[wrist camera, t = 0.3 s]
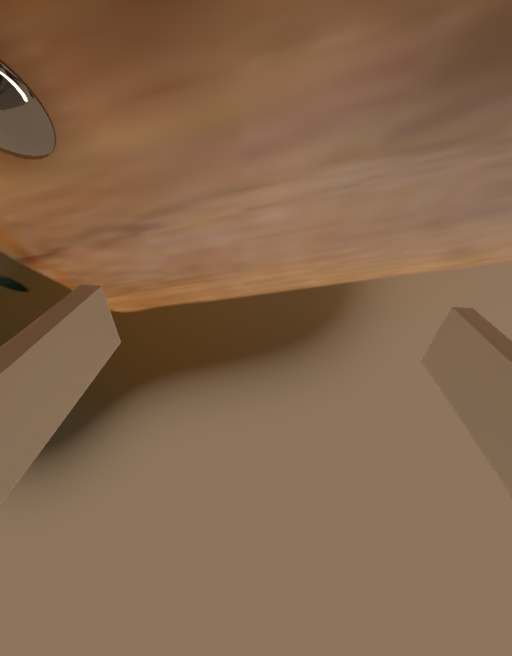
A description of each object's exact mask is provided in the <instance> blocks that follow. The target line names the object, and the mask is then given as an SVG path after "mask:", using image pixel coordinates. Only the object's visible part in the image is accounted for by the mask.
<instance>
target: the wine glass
mask: <svg viewBox="0 0 512 656" xmlns="http://www.w3.org/2000/svg"><path fill="white" fill-rule="evenodd" d="M55 142H56V140H55V132H54V129H53V126H52V123H51V121H50V119H49V117H48V114H47V113H46V111H45V110H44V108H43V106H42V105H41V103H40V102H39V101H38V99H37V98H36V97H35V95H34V94H33V93H32V91H31V90H30V89H29V88H28V87H27V86H26V85H25V84H24V82H23V81H22V80H21V79H20V78H19V77H18V76H17V75H16V74H15V73H14V72H12V71H11V70H10V69H9V68H8V67H7V66H6V65H5V64H3V63H2V62H1V61H0V151H2V152H4V153H6V154H9V155H12V156H15V157H19V158H24V159H42V158H44V157H47V156H48V155H50V154H51V153H52V151H53V149H54V148H55Z"/></svg>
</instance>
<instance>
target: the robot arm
mask: <svg viewBox="0 0 512 656" xmlns="http://www.w3.org/2000/svg"><path fill="white" fill-rule="evenodd" d="M120 343H121V341H120V338H119V336H118V333H117V330H116V327H115V324H114V321H113V318H112V315H111V312H110V309H109V306H108V304H107V301H106V298H105V295H104V292H103V289H102V286H93V285H81V286H79V287H78V288H77V289H75V290H74V291H73V292H71V293H70V294H69V295H68V296H66V297H65V298H64V299H62V300H61V301H60V302H59V303H57V304H56V305H55V306H53V307H52V308H51V309H49V310H48V311H47V312H46V313H44V314H43V315H42V316H40V317H39V318H38V319H37V320H35V321H34V322H33V323H31V324H30V325H29V326H27V327H26V328H25V329H24V330H22V331H21V332H20V333H18V334H17V335H16V336H14V337H13V338H12V339H11V340H9V341H8V342H7V343H5V344H4V345H3V346H1V347H0V506H1V504H2V503H3V502H4V500H5V499H6V497H7V496H8V495H9V493H10V492H11V491H12V489H13V488H14V487H15V485H16V484H17V482H18V481H19V480H20V478H21V477H22V475H23V474H24V473H25V472H26V470H27V469H28V468H29V466H30V465H31V464H32V462H33V461H34V459H35V458H36V457H37V455H38V454H39V453H40V451H41V450H42V449H43V447H44V446H45V445H46V443H47V442H48V440H49V439H50V438H51V436H52V435H53V434H54V432H55V431H56V430H57V428H58V427H59V425H60V424H61V423H62V422H63V420H64V419H65V417H66V416H67V415H68V413H69V412H70V411H71V409H72V408H73V407H74V405H75V404H76V403H77V401H78V400H79V398H80V397H81V396H82V394H83V393H84V392H85V390H86V389H87V388H88V386H89V385H90V384H91V382H92V381H93V379H94V378H95V377H96V375H97V374H98V373H99V371H100V370H101V368H102V367H103V366H104V365H105V363H106V362H107V361H108V359H109V358H110V356H111V355H112V354H113V352H114V351H115V350H116V348H117V347H118V346H119V344H120ZM421 362H422V364H423V365H424V367H425V368H426V370H427V371H428V373H429V374H430V376H431V377H432V378H433V380H434V382H435V383H436V385H437V386H438V388H439V389H440V391H441V392H442V394H443V395H444V397H445V398H446V400H447V401H448V403H449V404H450V406H451V407H452V408H453V410H454V412H455V413H456V415H457V416H458V418H459V419H460V421H461V422H462V424H463V425H464V426H465V428H466V430H467V431H468V433H469V434H470V435H471V437H472V438H473V440H474V441H475V443H476V444H477V446H478V447H479V449H480V450H481V452H482V453H483V455H484V456H485V458H486V459H487V461H488V462H489V464H490V465H491V467H492V468H493V470H494V471H495V473H496V474H497V476H498V477H499V479H500V480H501V482H502V483H503V485H504V486H505V488H506V489H507V491H508V492H509V494H510V495H511V497H512V341H511V340H510V339H508V338H507V337H506V336H505V335H504V334H503V333H501V332H500V331H499V330H498V329H497V328H495V327H494V326H493V325H492V324H491V323H490V322H488V321H487V320H486V319H485V318H484V317H482V316H481V315H480V314H479V313H478V312H476V311H475V310H474V309H473V308H460V307H452V308H451V309H450V311H449V313H448V315H447V316H446V318H445V320H444V322H443V323H442V325H441V327H440V329H439V330H438V332H437V334H436V336H435V337H434V339H433V341H432V343H431V344H430V346H429V348H428V350H427V352H426V353H425V355H424V357H423V358H422V360H421Z"/></svg>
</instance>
